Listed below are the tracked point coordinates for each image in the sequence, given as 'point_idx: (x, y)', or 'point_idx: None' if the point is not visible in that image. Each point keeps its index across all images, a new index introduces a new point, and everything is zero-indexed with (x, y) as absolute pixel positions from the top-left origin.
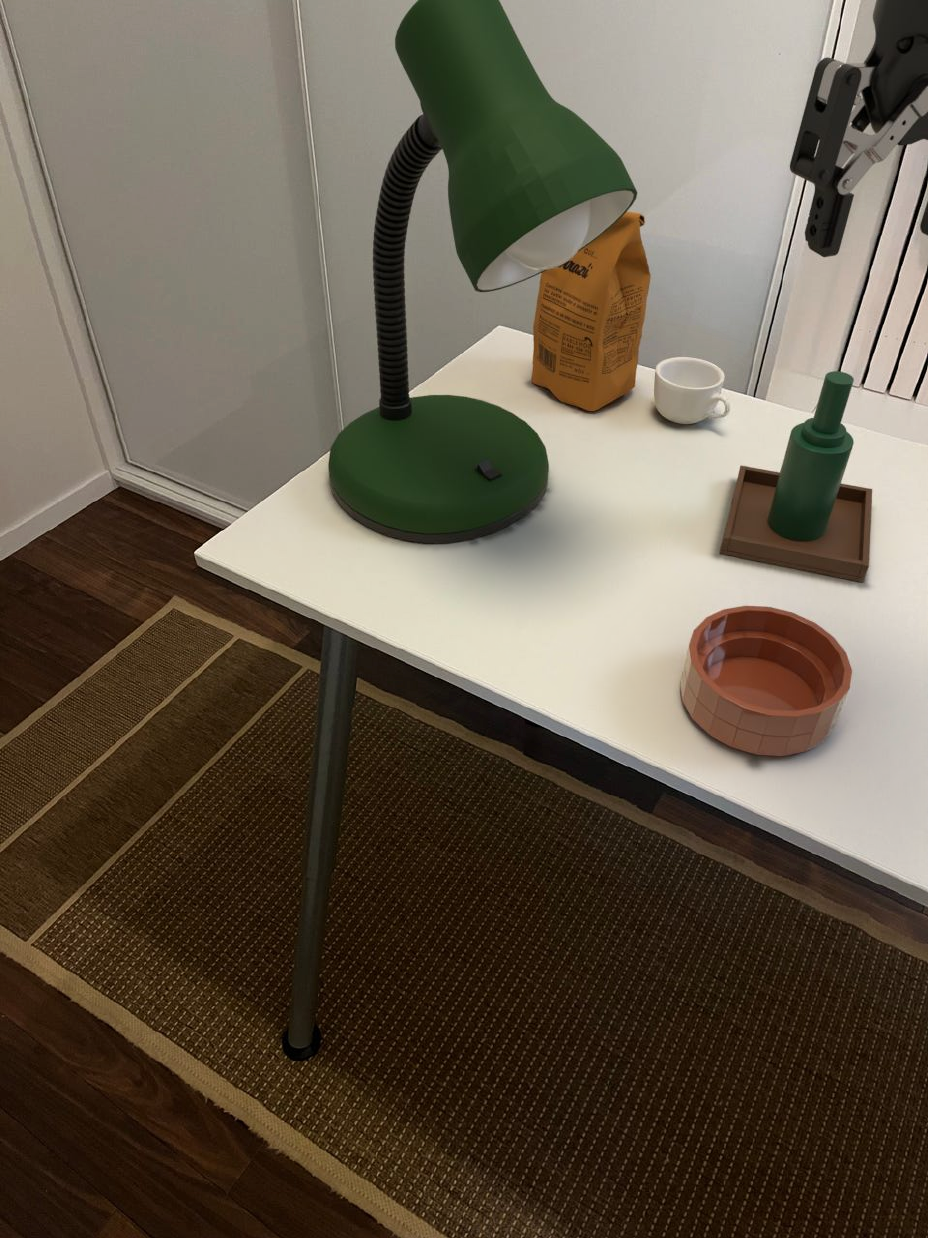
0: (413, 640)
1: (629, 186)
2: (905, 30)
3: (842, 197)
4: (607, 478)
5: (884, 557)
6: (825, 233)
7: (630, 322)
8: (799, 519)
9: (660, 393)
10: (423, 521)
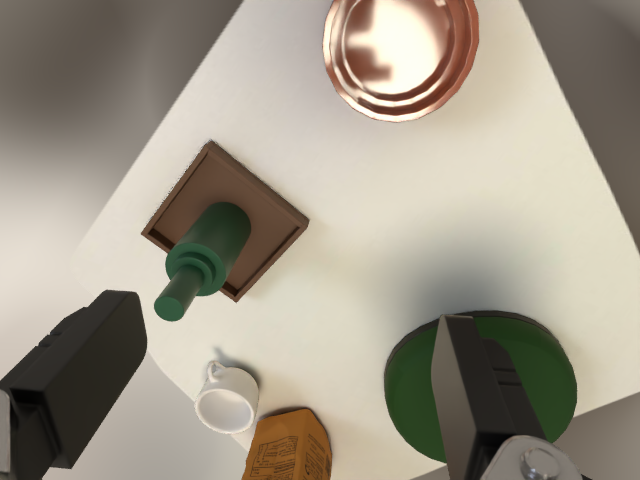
0: (614, 222)
1: None
2: None
3: (515, 431)
4: (343, 335)
5: (172, 161)
6: (494, 362)
7: (259, 478)
8: (235, 217)
9: (257, 401)
10: (541, 334)
